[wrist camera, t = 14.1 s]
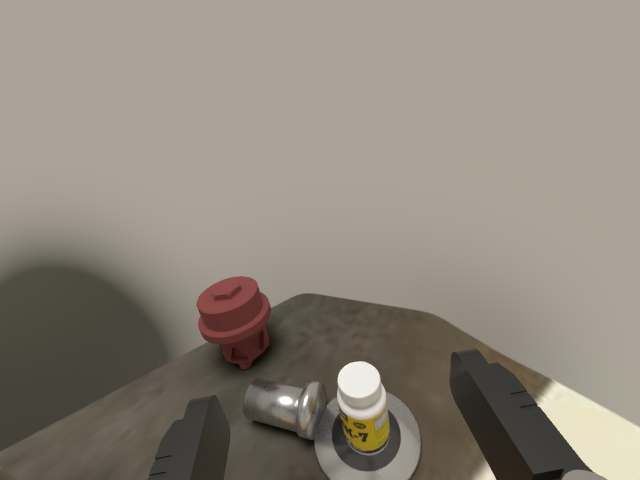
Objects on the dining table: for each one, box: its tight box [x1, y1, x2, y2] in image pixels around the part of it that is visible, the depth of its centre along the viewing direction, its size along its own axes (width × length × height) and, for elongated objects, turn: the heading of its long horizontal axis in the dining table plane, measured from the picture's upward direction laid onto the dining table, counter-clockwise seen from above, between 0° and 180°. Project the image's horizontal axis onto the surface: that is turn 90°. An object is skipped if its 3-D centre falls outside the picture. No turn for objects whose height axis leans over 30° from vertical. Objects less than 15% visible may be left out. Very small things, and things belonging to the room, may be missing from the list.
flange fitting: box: [243, 378, 421, 480], centre depth 33 cm, size 19×11×6 cm, turn 70°
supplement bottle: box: [337, 362, 390, 456], centre depth 30 cm, size 5×5×8 cm
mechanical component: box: [197, 277, 271, 370], centre depth 44 cm, size 12×10×10 cm
